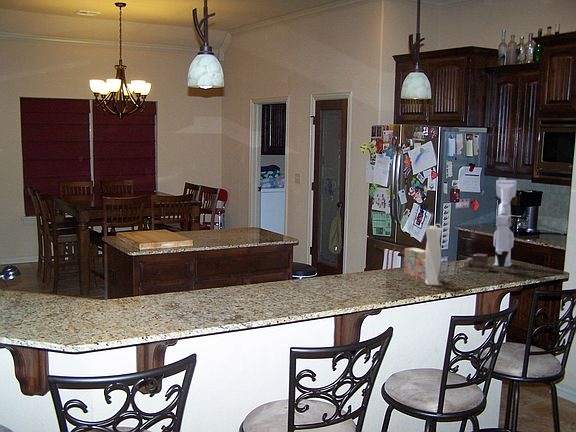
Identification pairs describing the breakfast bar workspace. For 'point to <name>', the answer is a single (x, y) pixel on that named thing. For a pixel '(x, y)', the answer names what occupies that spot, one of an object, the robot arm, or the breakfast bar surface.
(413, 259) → the stack of blocks
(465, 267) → the cradle
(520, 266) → the breakfast bar surface
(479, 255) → the box
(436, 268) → the skyscraper
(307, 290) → the breakfast bar surface
